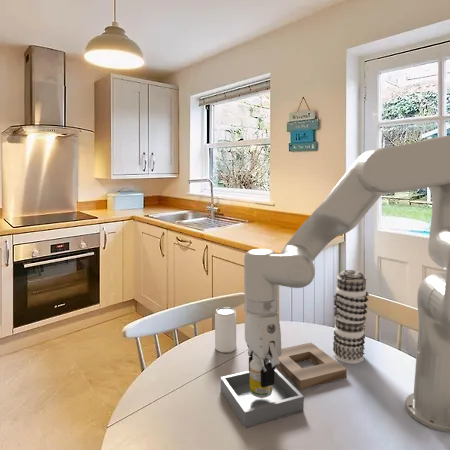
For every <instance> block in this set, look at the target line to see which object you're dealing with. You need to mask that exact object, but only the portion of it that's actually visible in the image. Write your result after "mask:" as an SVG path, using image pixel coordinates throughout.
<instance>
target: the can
mask: <svg viewBox="0 0 450 450" xmlns="http://www.w3.org/2000/svg"><path fill="white" fill-rule="evenodd" d="M214 347H215V350H216V351H217V352H219V353H222V354H230V353H232V352H234V351H235V350H236V349H237V314H236V312H235V308H233V307H228V306H224V307H223V306H222V307H219V308H217V309H216V310H215V315H214Z"/></svg>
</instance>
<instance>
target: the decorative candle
mask: <svg viewBox="0 0 450 450" xmlns="http://www.w3.org/2000/svg"><path fill="white" fill-rule="evenodd" d="M336 278H337V285H336V293H335V295H333V298H334V300H333V305H334V307H333V309H334V313H333V315H334V318H335V325H334V331H333V335H334V336H333V343H332V345H333V347H332V351H333V352H332V354H333V358H335V360H336V361H338V362H343V363H345V364H359V363H362V362H363V361H364V358H365V357H364V355H365V352H364V351H365V341H366V340H365V339H366V335H365V329H364V327H365V325H364V323H365V322H366V319H367V317H366V316H365V315H366V314H367V313H368V311H367V308H368V304H366V303H367V302H369V299H368V296H369V292H368V291H367V289H366V286H367V285H366V284H367V280H368V278H367V277H366V276H364V274H363V273H362V272H361V271H358V270H354V269H353V270H352V269H346V270H342V271H341V272H340V273H339V274H337V275H336Z"/></svg>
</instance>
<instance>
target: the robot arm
mask: <svg viewBox="0 0 450 450" xmlns="http://www.w3.org/2000/svg"><path fill="white" fill-rule="evenodd" d="M426 188H429V191H430V194H431V201H432V203H431V205H432V206H431V218H430V219H431V220H430V227H429V228H430V229H429V237H428V244H427V245H428V246H427V249H428V256H429V258H430V259H431V260H432V261H433V262H434V263H435V264H436V265H437V266H438V267H441V268H442V269H443V270H445V272H435V273H432V274H429V275H427V276H426V277H425V278H424V279H423V280H422V281H421V283H420V284H419V287H418V290H417V299H416V301H417V302H416V303H417V313H418V315H417V316H418V330H417V344H416V356H415V357H416V358H415V370H414V371H415V372H414V382H413V383H414V384H413V392H412V393H410V394H409V395H407V397H406V398H405V400H404V406H405V407H404V408H405V409H406V411H407V413H408V414H409V415H410V416H411V417H412V418H413V420H415V421H418V422H419V423H420V424H422V425H423V426H426V427H429V428H431V429H434V430H436V431H442V432H445V433H446V432H448V433H450V135H449V134H448V135H444V136H436V137H430V138H426V139H423V140H420V141H417V142H411V143H406V144H401V145H395V146H389V147H388V146H387V147H381V148H380V147H379V148H375V149H369V150H366V151H364V152H363V153H362V154H361V155H359V156H358V157H357V159H356V160H354V162H353V163H352V164H351V166H350V167H349V168H348V169H347V171H345V173H344V175H343V176H342V177H340V180H339V181H338V182H337V183H336V184H335V186H334V187H333V188H332V190H331V191H330V192H329V193H328V194H327V196H326V197H325V199H323V200H322V202H321V203H320V205H318V206H317V207H316V208H315V210H314V211H313V212H312V213H311V215H309V217H308V218H307V219H305V221H304V222H302V224H301V225H300V227H299V228H298V229H297V231H296V232H294V234H293V235H292V237H290V239H289V240H288V241H287V242H286V244H285V245H284V247H283V248H282V250H281V251H280V253H279V254H277V252H276V251H275V250H272V249H267V248H254V249H251V250H248V251H246V253H245V254H244V259H243V261H244V262H243V263H244V265H243V266H244V267H243V269H244V271H243V273H244V278H243V279H244V281H243V282H244V289H243V290H244V312H245V316H244V341H245V344H246V346H247V348H248V349H247V354H248V371H249V373H250V362H251V360H253V352H255V353H256V354H257V355H258V356H259V357H260V358H261V363H262V370H261V387H267V386H271V385H274V370H275V369H277V366H278V365H279V364H280V362H279V359H278V356H281V349H282V335H281V334H282V332H281V324H280V317H279V313H278V312H279V286H281V287H286V288H291V289H300V288H304V287H307V286H309V285H310V284H311V283H312V282H313V281H314V278H315V275H316V268H315V264H314V260H315V259H316V258H317V257H318V255H320V253H321V252H322V251H323V250H324V249H325V247H327V246H328V244H329V243H331V242H332V241H333V240H334V239H336V238H338V237H339V236H342V235H344V234H347V233H349V232H350V231H352V230H353V229H355V228H356V227H357V226H358V224H359V223H360V222H361V220H363V218H364V216H366V214H368V212H369V211H370V209H372V208H373V206H374V205H375V204H376V202H377V201H378V200H379V199H380V198H381V196H383V194H395V193H396V194H397V193H403V192H409V191H416V190H421V189H426ZM267 353H269V355H267ZM266 355H267V356H266ZM267 359H270V363H267V364H266V361H265V360H267Z"/></svg>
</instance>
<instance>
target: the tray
mask: <svg viewBox="0 0 450 450" xmlns="http://www.w3.org/2000/svg"><path fill="white" fill-rule="evenodd" d="M285 377H286V376H285V375H284V374H283V373H282V372H281V371H280V370H279V369H278V368H276V369H275V370H274V385H272V393H271V395H270V396H268V397H265V398H259V397H255V396H253V395H252V394H251V393H250V373H249V370H246V371H242V372H238V373H233V374H228V375H224V376H220V392H221V393H222V394H223V397H224V398H225V399H226V401H227V403H228V404H229V406H230V407H231V408H232V410H233V412H234V413H235V414H236V416H237V419H238V420H240V423H241V424H242V426H243V427H244V429H246V428H249V427H253V426H257V425H261V424H264V423H267V422H271V421H275V420H277V419H281V418H284V417H288V416H291V415H295V414H296V415H297V414H299V413H302V412H304V404H305V403H304V402H305V401H304V400H305V396H304V395H303V394H302V393H301V392H300V391H299V389H298V388H296V387H295V386H294V385H293V383H291V382H290V380H288V379H287V377H286V378H285Z"/></svg>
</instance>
